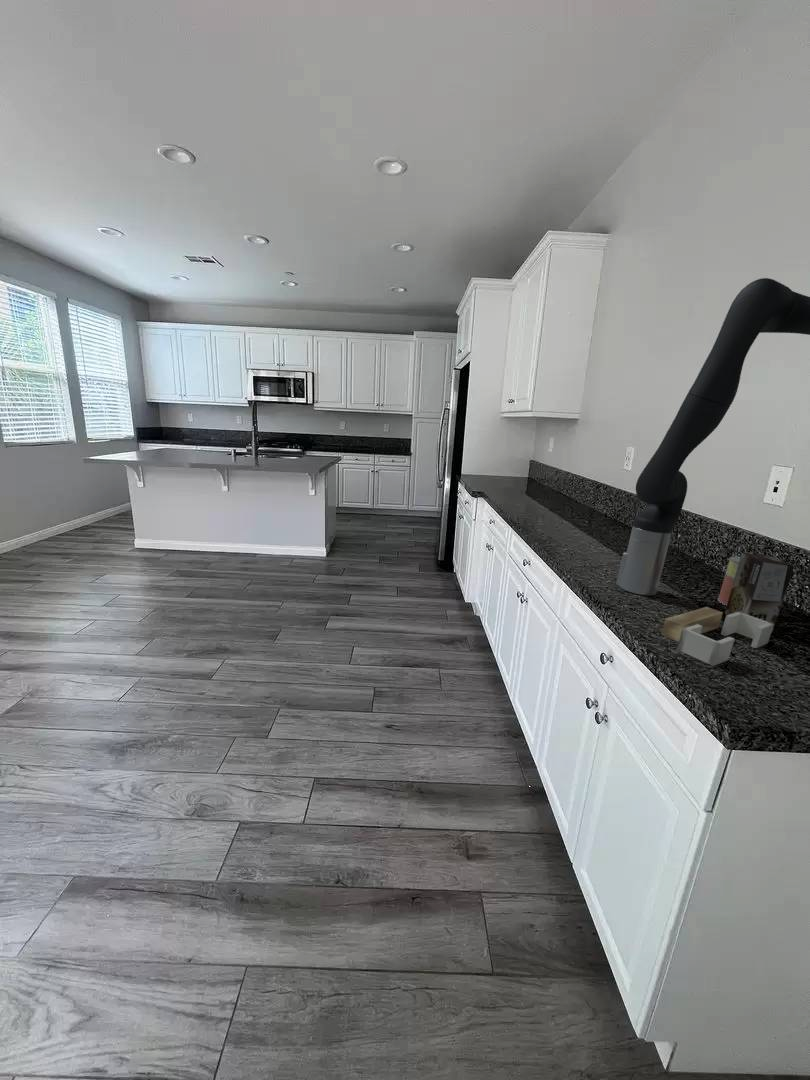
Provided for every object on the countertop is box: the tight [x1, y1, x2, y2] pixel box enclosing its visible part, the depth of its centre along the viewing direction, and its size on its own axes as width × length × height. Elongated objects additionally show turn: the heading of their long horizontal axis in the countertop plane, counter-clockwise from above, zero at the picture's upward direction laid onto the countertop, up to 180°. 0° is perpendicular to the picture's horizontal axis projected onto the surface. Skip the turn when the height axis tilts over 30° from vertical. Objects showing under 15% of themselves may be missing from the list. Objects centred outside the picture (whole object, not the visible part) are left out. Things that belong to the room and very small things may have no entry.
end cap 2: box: [720, 612, 775, 649], centre depth 94 cm, size 7×6×4 cm
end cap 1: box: [676, 624, 735, 667], centre depth 84 cm, size 7×6×4 cm
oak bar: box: [661, 606, 724, 643], centre depth 96 cm, size 3×18×4 cm, turn 122°
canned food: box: [717, 555, 741, 607], centre depth 114 cm, size 11×11×12 cm
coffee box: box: [724, 552, 795, 634], centre depth 102 cm, size 9×6×16 cm
